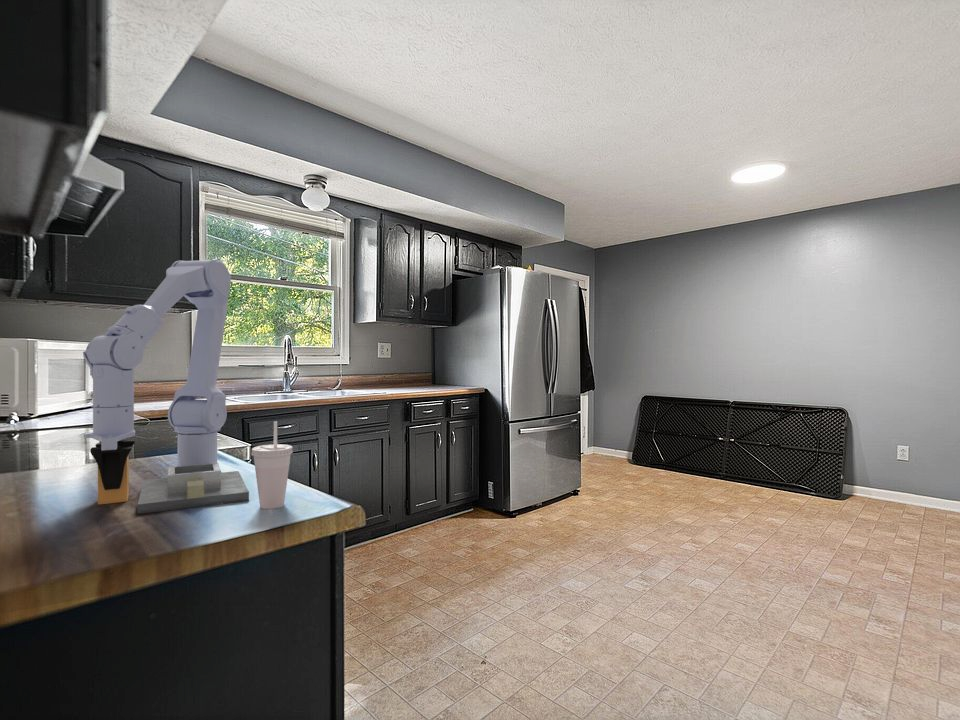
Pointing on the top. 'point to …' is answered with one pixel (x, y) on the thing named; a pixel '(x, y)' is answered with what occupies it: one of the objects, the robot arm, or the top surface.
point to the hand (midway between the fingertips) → (113, 485)
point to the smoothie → (272, 472)
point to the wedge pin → (114, 494)
